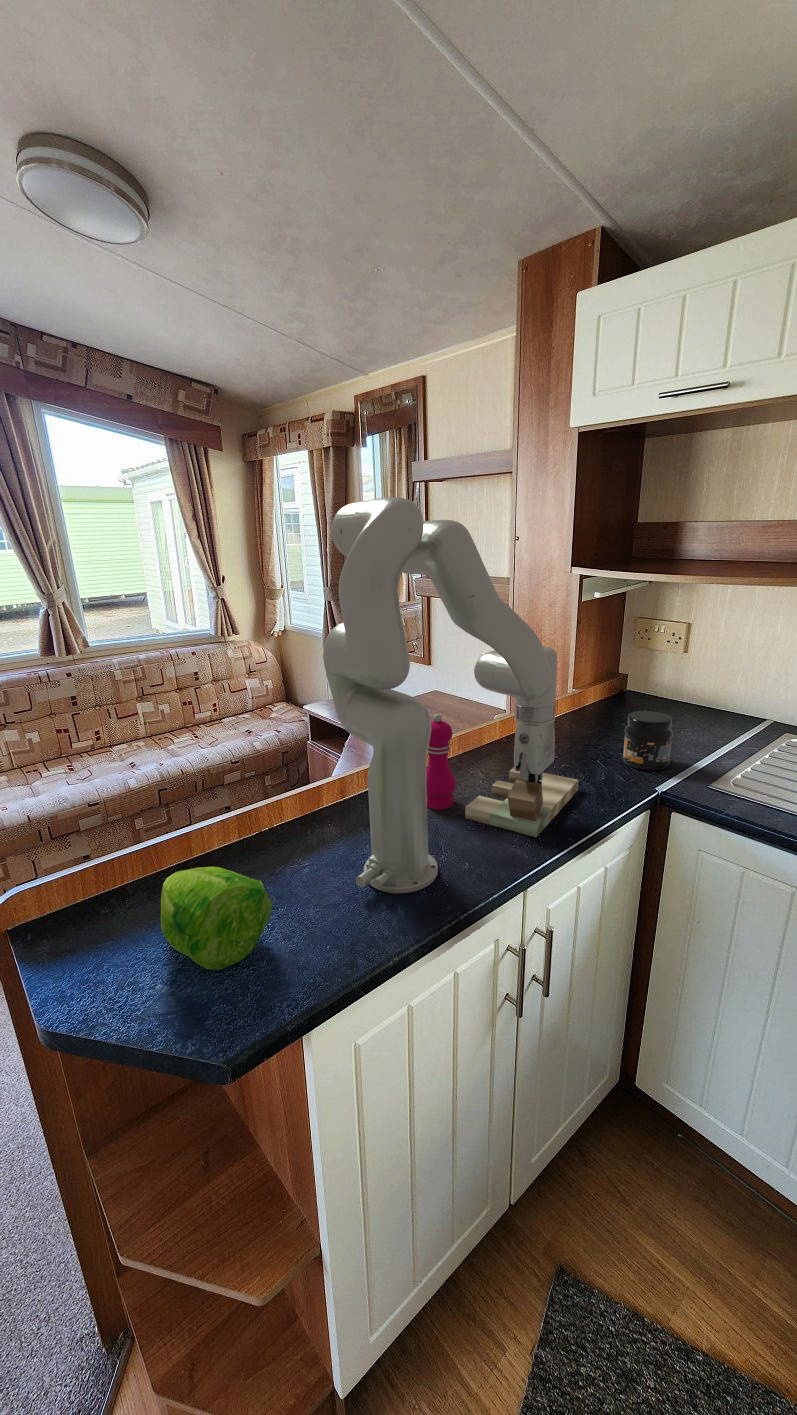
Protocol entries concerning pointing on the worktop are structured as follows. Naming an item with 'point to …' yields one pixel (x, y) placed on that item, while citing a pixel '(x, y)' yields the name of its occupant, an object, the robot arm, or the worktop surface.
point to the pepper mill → (439, 766)
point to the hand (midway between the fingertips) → (532, 799)
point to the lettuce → (213, 915)
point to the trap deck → (498, 814)
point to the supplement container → (648, 740)
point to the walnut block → (525, 800)
